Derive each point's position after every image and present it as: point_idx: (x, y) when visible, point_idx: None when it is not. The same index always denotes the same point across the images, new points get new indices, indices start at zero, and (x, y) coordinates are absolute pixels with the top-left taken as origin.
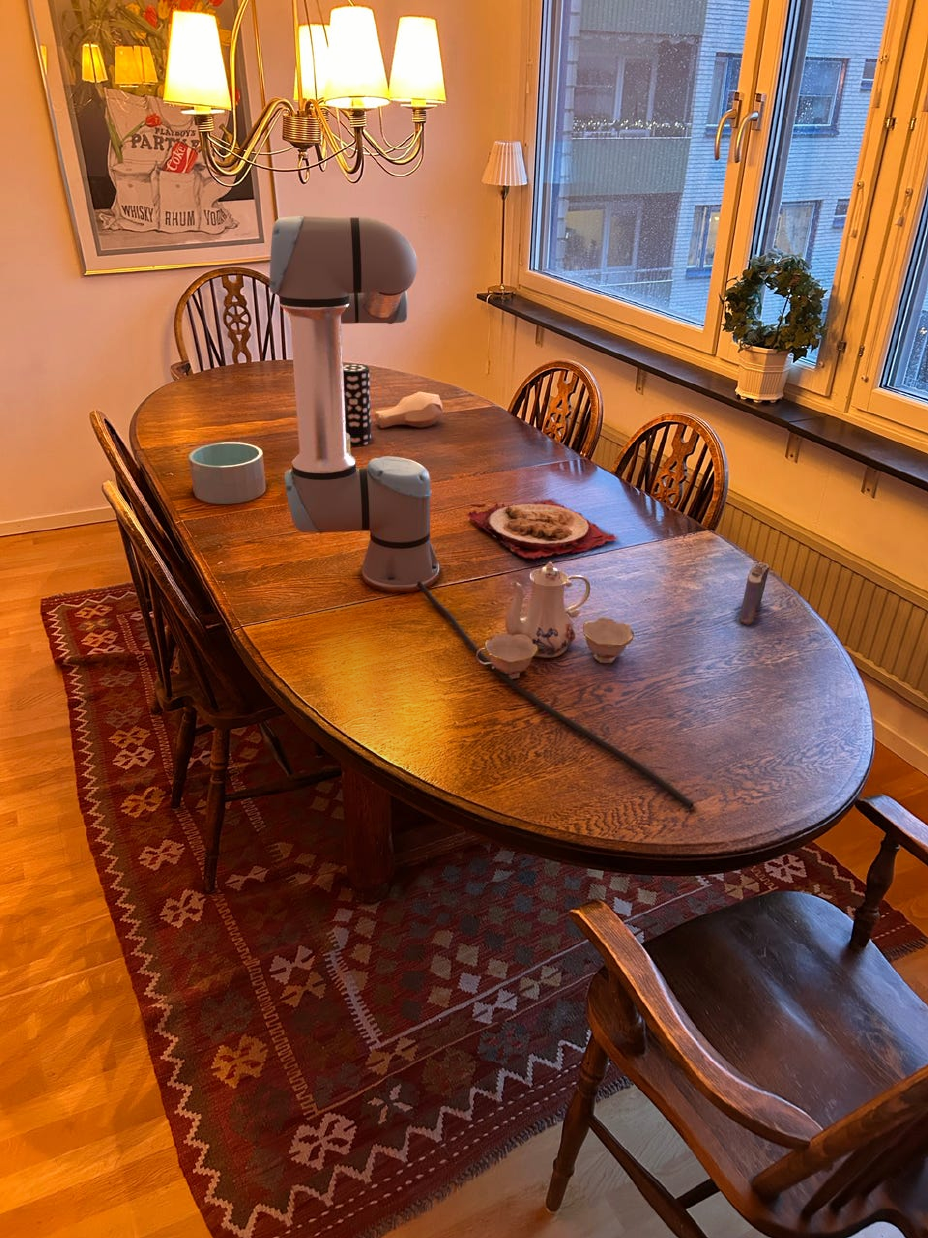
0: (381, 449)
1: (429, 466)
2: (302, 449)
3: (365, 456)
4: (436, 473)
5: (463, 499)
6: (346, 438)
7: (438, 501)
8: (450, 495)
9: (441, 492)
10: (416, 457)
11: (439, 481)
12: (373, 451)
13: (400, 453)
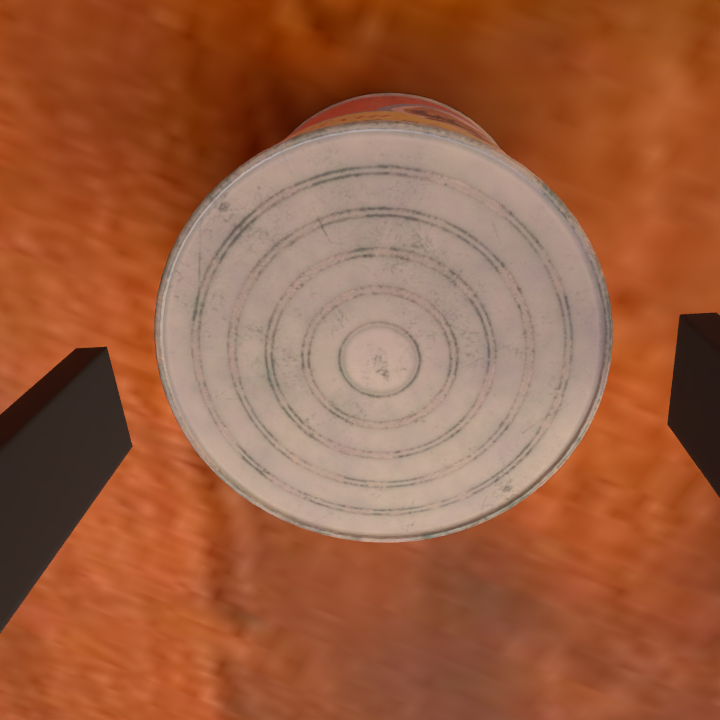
0: (713, 644)
1: (396, 711)
2: None
3: (672, 552)
4: (307, 701)
5: (7, 667)
6: (273, 489)
7: None
8: (59, 648)
9: (99, 636)
10: (523, 714)
11: (218, 675)
12: (712, 606)
13: (609, 685)
